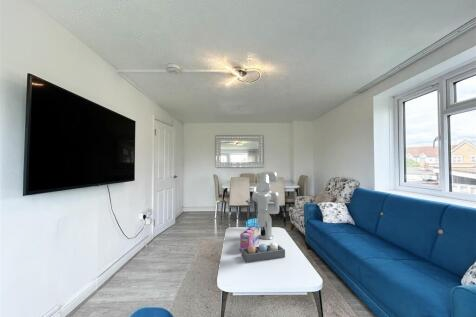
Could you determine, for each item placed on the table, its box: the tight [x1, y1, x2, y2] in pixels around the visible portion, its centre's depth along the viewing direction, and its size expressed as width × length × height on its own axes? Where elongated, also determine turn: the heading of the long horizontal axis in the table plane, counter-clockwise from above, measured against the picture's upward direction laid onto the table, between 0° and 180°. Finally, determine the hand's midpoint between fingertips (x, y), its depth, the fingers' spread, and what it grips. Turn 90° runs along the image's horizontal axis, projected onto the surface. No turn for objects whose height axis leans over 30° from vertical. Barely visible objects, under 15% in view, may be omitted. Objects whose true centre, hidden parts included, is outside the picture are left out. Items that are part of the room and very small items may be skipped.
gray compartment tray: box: [240, 244, 286, 264], centre depth 165 cm, size 12×30×6 cm, turn 107°
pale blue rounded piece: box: [259, 243, 267, 252], centre depth 165 cm, size 6×6×6 cm
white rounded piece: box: [269, 242, 279, 251], centre depth 168 cm, size 6×6×6 cm
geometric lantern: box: [245, 197, 260, 231], centre depth 230 cm, size 16×16×35 cm
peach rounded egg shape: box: [248, 245, 256, 254], centre depth 163 cm, size 6×6×6 cm
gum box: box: [239, 226, 260, 252], centre depth 184 cm, size 24×8×14 cm, turn 156°
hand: (262, 235), depth 166 cm, fingers closed
